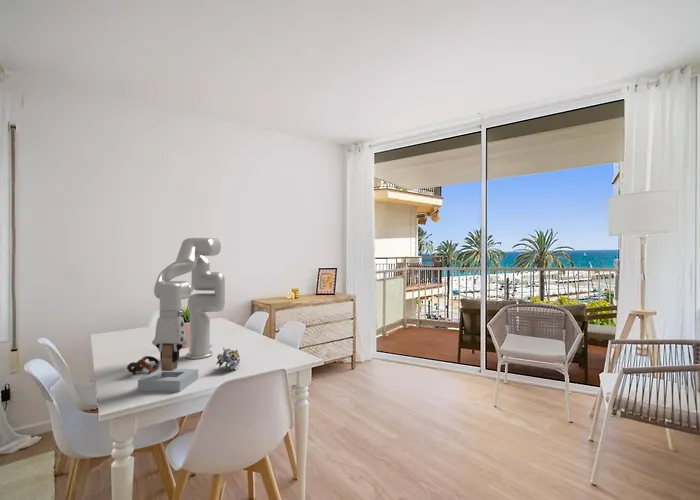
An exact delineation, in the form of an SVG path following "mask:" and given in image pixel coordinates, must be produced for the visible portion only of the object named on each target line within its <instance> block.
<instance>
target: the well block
mask: <svg viewBox="0 0 700 500" xmlns="http://www.w3.org/2000/svg"><path fill="white" fill-rule="evenodd" d="M197 380H199V369H198V368H176V369H174V370H172V371H162V368H158V370H157V371H155V372H153V373H151V374H149V375H148V374H147V375H145V376H144V377H141V378H140V379H137V392H160V393H161V392H164V393H165V392H166V393H168V392H170V393H173V392H175V393H177V392H178V393H180V392H182V391H183V390H185V389H186V388H187V387H188V386H190V385H192V384H193V383H195V382H196V381H197Z"/></svg>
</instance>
